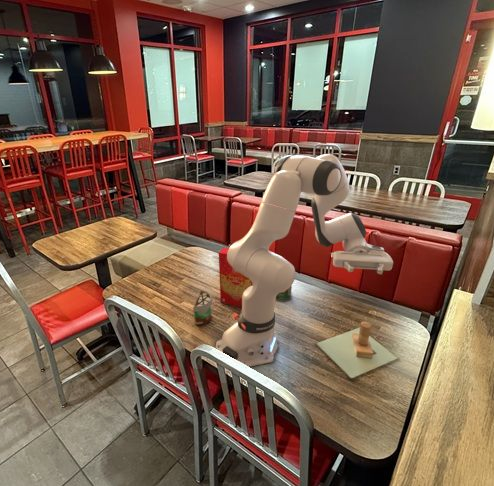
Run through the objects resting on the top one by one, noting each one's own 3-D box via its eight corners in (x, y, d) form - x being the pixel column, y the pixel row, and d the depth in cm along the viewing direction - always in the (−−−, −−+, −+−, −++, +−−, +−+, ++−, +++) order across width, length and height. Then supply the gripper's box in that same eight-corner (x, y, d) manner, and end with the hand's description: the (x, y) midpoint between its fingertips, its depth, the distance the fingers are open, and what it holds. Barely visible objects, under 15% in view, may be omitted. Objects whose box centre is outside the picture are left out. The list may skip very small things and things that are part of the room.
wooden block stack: (351, 338, 113) (355, 315, 109) (366, 340, 112) (371, 316, 108) (356, 356, 105) (360, 332, 101) (372, 358, 104) (377, 334, 100)
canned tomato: (289, 291, 144) (291, 270, 139) (292, 301, 137) (293, 280, 132) (272, 291, 144) (273, 270, 140) (273, 301, 137) (274, 279, 133)
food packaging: (220, 302, 138) (218, 252, 128) (225, 296, 142) (223, 247, 132) (252, 309, 133) (253, 258, 122) (256, 302, 137) (256, 252, 126)
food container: (209, 329, 123) (208, 308, 118) (194, 327, 124) (193, 307, 120) (215, 310, 134) (214, 290, 129) (202, 308, 135) (200, 289, 130)
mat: (351, 380, 98) (351, 378, 98) (315, 344, 112) (316, 343, 112) (397, 360, 104) (398, 358, 104) (358, 329, 119) (358, 327, 118)
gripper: (331, 244, 122) (335, 261, 110) (388, 247, 118) (398, 265, 106) (329, 258, 125) (333, 276, 113) (384, 262, 120) (395, 281, 108)
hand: (365, 271), depth 109 cm, fingers open, 8 cm apart
